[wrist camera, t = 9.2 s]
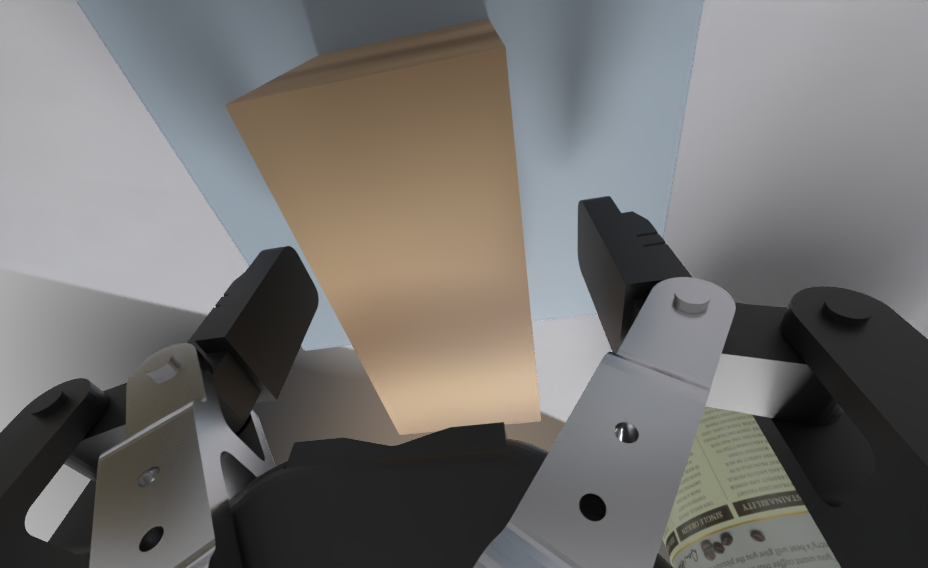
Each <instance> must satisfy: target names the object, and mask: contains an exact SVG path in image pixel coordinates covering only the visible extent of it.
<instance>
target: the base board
mask: <svg viewBox="0 0 928 568" xmlns="http://www.w3.org/2000/svg"><path fill="white" fill-rule="evenodd" d="M703 1H704V0H76V2H77V3H78V5H79V6H80V8H81V9H82V11H83V12H84V14H85V15H86V17H87V18H88V20H89V21H90V23H91V25H92V26H93V28H94V29H95V31H96V32H97V34H98V35H99V37H100V38H101V40H102V41H103V43H104V44H105V46H106V48H107V49H108V51H109V52H110V54H111V55H112V57H113V58H114V60H115V61H116V63H117V64H118V66H119V67H120V69H121V70H122V72H123V74H124V75H125V77H126V78H127V80H128V81H129V83H130V84H131V86H132V87H133V89H134V90H135V92H136V93H137V95H138V97H139V98H140V100H141V101H142V103H143V104H144V106H145V107H146V109H147V110H148V112H149V113H150V115H151V116H152V118H153V119H154V121H155V123H156V124H157V126H158V127H159V129H160V130H161V132H162V133H163V135H164V136H165V138H166V139H167V141H168V142H169V144H170V146H171V147H172V149H173V150H174V152H175V153H176V155H177V156H178V158H179V159H180V161H181V162H182V164H183V165H184V167H185V169H186V170H187V172H188V173H189V175H190V176H191V178H192V179H193V181H194V182H195V184H196V185H197V187H198V188H199V190H200V191H201V193H202V195H203V196H204V198H205V199H206V201H207V202H208V204H209V205H210V207H211V208H212V210H213V211H214V213H215V214H216V216H217V218H218V219H219V221H220V222H221V224H222V225H223V227H224V228H225V230H226V231H227V233H228V234H229V236H230V237H231V239H232V241H233V242H234V244H235V245H236V247H237V248H238V250H239V251H240V253H241V254H242V256H243V257H244V259H245V260H246V262H247V263H248V265H249V266H250V265H251V264H252V262H253V261H254V260H255V258H256V257H257V256H258V254H259V253H260V252H261V251H262V250H266V249H272V248H278V247H285V246H291V247H292V248H294V249H295V250H296V252H297V253H298V255H299V257H300V259H301V261H302V262H303V264H304V266H305V268H306V270H307V272H308V274H309V275H310V277H311V279H312V281H313V283H314V285H315V287H316V289H317V292H318V297H319V303H318V308H317V310H316V313H315V315H314V317H313V319H312V322H311V324H310V326H309V328H308V331H307V333H306V335H305V337H304V340H303V342H302V344H301V346H302V348H303V349H304V351H307V350H315V349H322V348H331V347H339V346H347V345H352V344H351V342H350V340H349V339H348V337H347V335H346V333H345V331H344V329H343V327H342V325H341V323H340V322H339V320H338V318H337V316H336V314H335V312H334V310H333V308H332V306H331V305H330V303H329V301H328V299H327V297H326V295H325V293H324V291H323V289H322V288H321V286H320V284H319V282H318V280H317V278H316V276H315V274H314V272H313V271H312V269H311V267H310V265H309V263H308V261H307V259H306V257H305V256H304V254H303V252H302V250H301V248H300V246H299V244H298V242H297V240H296V239H295V237H294V235H293V233H292V231H291V229H290V227H289V225H288V223H287V222H286V220H285V218H284V216H283V214H282V212H281V210H280V208H279V206H278V205H277V203H276V201H275V199H274V197H273V195H272V193H271V191H270V189H269V188H268V186H267V184H266V182H265V180H264V178H263V176H262V174H261V172H260V171H259V169H258V167H257V165H256V163H255V161H254V159H253V157H252V156H251V154H250V152H249V150H248V148H247V146H246V144H245V142H244V140H243V139H242V137H241V135H240V133H239V131H238V129H237V127H236V125H235V123H234V122H233V120H232V118H231V116H230V114H229V112H228V110H227V108H226V106H225V105H226V104H228V103H230V102H232V101H233V100H235V99H237V98H239V97H241V96H243V95H245V94H247V93H248V92H250V91H252V90H254V89H256V88H258V87H260V86H261V85H263V84H265V83H267V82H269V81H271V80H273V79H275V78H276V77H278V76H280V75H282V74H284V73H286V72H288V71H290V70H291V69H293V68H295V67H297V66H299V65H301V64H303V63H305V62H306V61H308V60H310V59H312V58H314V57H316V56H318V55H322V54H327V53H331V52H336V51H340V50H345V49H350V48H354V47H359V46H364V45H368V44H373V43H378V42H382V41H387V40H392V39H396V38H401V37H406V36H410V35H415V34H420V33H424V32H429V31H434V30H438V29H443V28H447V27H452V26H457V25H461V24H466V23H471V22H475V21H480V20H485V19H489V20H490V22H491V24H492V25H493V27H494V29H495V30H496V32H497V34H498V35H499V37H500V39H501V40H502V42H503V44H504V45H505V47H506V56H507V67H508V77H509V88H510V99H511V109H512V120H513V130H514V141H515V151H516V162H517V173H518V183H519V194H520V204H521V215H522V225H523V236H524V246H525V257H526V268H527V278H528V289H529V299H530V310H531V320H532V322H537V321H545V320H553V319H561V318H569V317H577V316H585V315H593V314H598V313H597V311H596V308H595V306H594V303H593V301H592V298H591V296H590V293H589V291H588V288H587V286H586V283H585V281H584V278H583V276H582V273H581V270H580V266H579V261H578V203H579V201H580V200H585V199H592V198H598V197H604V196H610V197H611V198H612V200H613V201H614V203H615V204H616V206H617V207H618V209H619V210H620V212H621V213H625V212H631V211H633V212H635V213H637V214H638V215H640V216H642V217H644V218H646V219H648V220H649V221H650V223H651V224H652V225H653V226H654V228H655V229H656V230H657V232H658V234H660V236H661V237H662V238H663V236H664V230H665V224H666V218H667V212H668V206H669V200H670V195H671V189H672V183H673V177H674V171H675V165H676V159H677V154H678V148H679V142H680V136H681V130H682V124H683V118H684V113H685V107H686V101H687V95H688V89H689V83H690V77H691V72H692V66H693V60H694V54H695V48H696V42H697V36H698V31H699V25H700V19H701V13H702V7H703Z"/></svg>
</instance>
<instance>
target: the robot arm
mask: <svg viewBox="0 0 928 568" xmlns="http://www.w3.org/2000/svg"><path fill="white" fill-rule="evenodd" d="M578 261H579V266H580V270H581V273H582V276H583V278H584V281H585V283H586V286H587V288H588V291H589V293H590V296H591V298H592V301H593V303H594V306H595V308H596V311H597V313H598V316H599V319H600V321H601V324H602V326H603V329H604V331H605V334H606V336H607V339H608V341H609V344H610V346H611V349H612V351H613V352H608V353H607V354H606V355H605V356H604V358H603V359H602V361H601V362H600V364H599V366H598V368H597V369H596V371H595V373H594V375H593V376H592V378H591V380H590V381H589V383H588V385H587V387H586V388H585V390H584V392H583V394H582V395H581V397H580V399H579V401H578V402H577V404H576V406H575V408H574V409H573V411H572V413H571V415H570V416H569V418H568V420H567V422H566V423H565V425H564V427H563V429H562V430H561V432H560V434H559V436H558V437H557V439H556V441H555V443H554V444H553V446H552V448H551V450H550V451H549V452H547V451H545V450H543V449H541V448H539V447H536V446H534V445H532V444H528V443H525V442H522V441H518V440H513V439H507V435H506V430H505V425H504V422H499V423H489V424H479V425H468V426H458V427H449V428H447V429H444V430H441V431H438V432H435V433H432V434H429V435H426V436H423V437H421V438H418V439H415V440H412V441H409V442H406V443H403V444H400V445H397V446H386V445H381V444H375V443H370V442H364V441H359V440H353V439H348V438H336V439H326V440H316V441H306V442H296V443H294V445H293V448H292V451H291V453H290V457H289V459H288V461H287V462H285V463H283V464H280V465H278V466H276V467H275V464H274V461H273V458H272V455H271V453H270V450H269V447H268V444H267V441H266V438H265V435H264V432H263V429H262V427H261V424H260V421H259V418H258V416H257V415H256V414H255V412H254V411H253V410H252V409H253V407H254V405H255V403H256V402H264V401H273V400H277V398H278V396H279V394H280V391H281V389H282V387H283V385H284V383H285V380H286V378H287V375H288V374H289V371H290V369H291V367H292V365H293V362H294V360H295V357H296V355H297V353H298V351H299V349H300V346H301V344H302V342H303V340H304V337H305V335H306V333H307V331H308V328H309V326H310V324H311V322H312V319H313V317H314V315H315V313H316V310H317V308H318V303H319V297H318V292H317V289H316V287H315V285H314V283H313V281H312V279H311V277H310V275H309V274H308V272H307V270H306V268H305V266H304V264H303V262H302V261H301V259H300V257H299V255H298V253H297V252H296V250H295V249H294V248H292V247H291V246H285V247H278V248H272V249H266V250H262V251H261V252H260V253H259V254H258V256H257V257H256V258H255V260H254V261H253V262H252V264H251V265H250V266H249V268H248V269H247V270H246V272H245V273H243V274H242V275H241V276H240V277H239V278H237V279H236V280H235V281H234V282H233V283H232V284H231V285H230V287H229V288H228V289H227V291H226V292H225V293H224V297H221V299H220V300H219V301H218V303H217V304H216V308H213V309H212V311H211V312H210V313H209V314H208V316H207V317H206V318H205V320H204V321H203V323H202V324H201V325H200V326H199V328H198V329H197V330H196V332H195V333H194V334H193V336H192V337H191V338H190V340H189V341H188V342H187V343H180V344H175V345H172V346H169V347H167V348H164V349H162V350H160V351H158V352H157V353H155V354H153V355H152V356H150V357H149V358H147V359H146V360H145V361H144V362H142V363H141V364H140V365H139V366H138V367H137V368H136V369H135V370H134V371H133V373H132V374H131V376H130V377H129V379H128V382H127V383H125V384H122V385H120V386H117V387H114V388H111V389H109V390H106V391H101V390H100V389H99V388H98V387H96V386H95V385H94V384H93V383H91V382H90V381H89V380H87V379H82V378H80V379H74V380H70V381H67V382H64V383H62V384H60V385H57V386H55V387H53V388H52V389H50V390H48V391H46V392H45V393H43V394H42V395H40V396H39V397H37V398H36V399H35V400H33V401H32V402H31V403H30V404H29V405H27V406H26V407H25V408H24V409H23V410H22V411H21V412H20V413H19V414H18V415H17V416H16V417H15V418H14V419H13V420H12V421H11V422H10V423H9V425H8V426H7V427H6V428H5V429H4V430H3V431H2V432H1V433H0V568H673V567H672V566H671V565H670V564H669V563H668V562H667V561H666V560H665V559H664V558H663V557H662V556H661V555H659V553H658V551H659V547H660V544H661V541H662V538H663V535H664V532H665V529H666V526H667V523H668V520H669V517H670V514H671V510H672V507H673V504H674V501H675V498H676V495H677V492H678V489H679V486H680V483H681V480H682V477H683V474H684V470H685V467H686V464H687V461H688V458H689V455H690V452H691V449H692V446H693V443H694V440H695V437H696V433H697V430H698V427H699V424H700V421H701V418H702V415H703V412H704V409H705V406H706V407H712V408H718V409H723V410H729V411H735V412H741V413H746V414H752V415H753V417H754V419H755V420H756V422H757V424H758V426H759V427H760V429H761V431H762V432H763V434H764V436H765V438H766V439H767V441H768V443H769V445H770V446H771V448H772V450H773V451H774V453H775V455H776V457H777V458H778V460H779V462H780V463H781V465H782V467H783V469H784V470H785V472H786V474H787V475H788V477H789V479H790V481H791V482H792V484H793V486H794V487H795V489H796V491H797V493H798V494H799V496H800V498H801V500H802V501H803V503H804V505H805V506H806V508H807V510H808V512H809V513H810V515H811V517H812V518H813V520H814V522H815V524H816V525H817V527H818V529H819V530H820V532H821V534H822V536H823V537H824V539H825V541H826V542H827V544H828V546H829V548H830V549H831V551H832V553H833V554H834V556H835V558H836V560H837V561H838V563H839V565H840V567H841V568H928V339H926V338H925V337H924V336H923V335H922V334H921V333H919V332H918V331H917V330H916V329H915V328H914V327H912V326H911V325H910V324H909V323H908V322H906V321H905V320H904V319H903V318H902V317H901V316H899V315H898V314H897V313H896V312H895V311H894V310H892V309H891V308H890V307H888V306H887V305H885V304H884V303H882V302H880V301H878V300H876V299H874V298H872V297H870V296H867V295H865V294H862V293H859V292H856V291H852V290H848V289H843V288H836V287H813V288H808V289H804V290H802V291H800V292H798V293H797V294H795V295H794V297H793V298H792V300H791V302H790V304H789V306H788V308H782V307H770V306H759V305H748V304H740V303H735V302H734V300H733V298H732V297H731V295H730V294H729V293H728V292H727V291H726V290H724V289H723V288H721V287H720V286H718V285H716V284H714V283H711V282H709V281H706V280H702V279H698V278H692V276H691V275H690V274H689V272H688V271H687V270H686V269H685V267H684V266H683V265H682V263H681V262H680V261H679V259H678V258H677V257H676V255H675V254H674V253H673V251H672V250H671V249H670V247H669V246H668V245H667V244H665V241H664V240H663V238H662V237H661V236H660V234H658V232H657V230H656V229H655V228H654V226H653V225H652V224H651V223H650V221H649V220H648V219H646V218H644V217H642V216H640V215H638V214H637V213H635V212H633V211H631V212H625V213H621V212H620V210H619V209H618V207H617V206H616V204H615V203H614V201H613V200H612V198H611V197H610V196H604V197H598V198H592V199H585V200H580V201H579V203H578ZM63 464H65V465H67V466H69V467H71V468H72V469H74V470H76V471H77V472H79V473H81V474H82V475H84V476H86V477H88V478H89V479H91V481H90V482H89V484H88V485H87V486H86V488H85V489H84V491H83V492H82V494H81V495H80V497H79V498H78V500H77V501H76V502H75V504H74V505H73V507H72V508H71V510H70V511H69V513H68V514H67V515H66V517H65V518H64V520H63V521H62V522H61V524H60V525H59V527H58V528H57V530H56V531H55V533H54V534H53V535H52V537H51V538H50V540H49V541H48V542H45V541H43V540H40V539H38V538H35V537H33V536H31V535H30V534H29V533H28V532H27V531H26V529H25V517H26V514H27V512H28V510H29V508H30V507H31V505H32V504H33V502H34V501H35V500H36V499H37V497H38V496H39V495H40V493H41V492H42V491H43V490H44V488H45V487H46V486H47V485H48V483H49V482H50V481H51V479H52V478H53V477H54V475H55V474H56V473H57V472H58V470H59V469H60V468H61V466H62V465H63Z"/></svg>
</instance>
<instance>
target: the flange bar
mask: <svg viewBox="0 0 928 568" xmlns="http://www.w3.org/2000/svg"><path fill="white" fill-rule="evenodd" d="M225 106H226V108H227V110H228V112H229V114H230V116H231V118H232V120H233V122H234V123H235V125H236V127H237V129H238V131H239V133H240V135H241V137H242V139H243V140H244V142H245V144H246V146H247V148H248V150H249V152H250V154H251V156H252V157H253V159H254V161H255V163H256V165H257V167H258V169H259V171H260V172H261V174H262V176H263V178H264V180H265V182H266V184H267V186H268V188H269V189H270V191H271V193H272V195H273V197H274V199H275V201H276V203H277V205H278V206H279V208H280V210H281V212H282V214H283V216H284V218H285V220H286V222H287V223H288V225H289V227H290V229H291V231H292V233H293V235H294V237H295V239H296V240H297V242H298V244H299V246H300V248H301V250H302V252H303V254H304V256H305V257H306V259H307V261H308V263H309V265H310V267H311V269H312V271H313V272H314V274H315V276H316V278H317V280H318V282H319V284H320V286H321V288H322V289H323V291H324V293H325V295H326V297H327V299H328V301H329V303H330V305H331V306H332V308H333V310H334V312H335V314H336V316H337V318H338V320H339V322H340V323H341V325H342V327H343V329H344V331H345V333H346V335H347V337H348V339H349V340H350V342H351V344H352V346H353V348H354V350H355V352H356V354H357V355H358V357H359V359H360V361H361V363H362V365H363V367H364V369H365V371H366V372H367V374H368V376H369V378H370V380H371V382H372V384H373V386H374V388H375V389H376V391H377V393H378V395H379V397H380V399H381V401H382V403H383V404H384V406H385V408H386V410H387V412H388V414H389V416H390V418H391V420H392V422H393V423H394V425H395V427H396V429H397V431H398V433H399V434H400V435H403V434H414V433H424V432H434V431H441V430H444V429H447V428H449V427H458V426H468V425H479V424H489V423H499V422H504V425H506V424H516V423H526V422H537V421H541V416H540V405H539V394H538V384H537V373H536V363H535V352H534V341H533V331H532V320H531V310H530V299H529V289H528V278H527V268H526V257H525V246H524V236H523V225H522V215H521V204H520V194H519V183H518V173H517V162H516V151H515V141H514V130H513V120H512V109H511V99H510V88H509V77H508V67H507V56H506V47H505V45H504V44H503V42H502V40H501V39H500V37H499V35H498V34H497V32H496V30H495V29H494V27H493V25H492V24H491V22H490V20H489V19H485V20H480V21H475V22H471V23H466V24H461V25H457V26H452V27H447V28H443V29H438V30H434V31H429V32H424V33H420V34H415V35H410V36H406V37H401V38H396V39H392V40H387V41H382V42H378V43H373V44H368V45H364V46H359V47H354V48H350V49H345V50H340V51H336V52H331V53H327V54H322V55H318V56H316V57H314V58H312V59H310V60H308V61H306V62H305V63H303V64H301V65H299V66H297V67H295V68H293V69H291V70H290V71H288V72H286V73H284V74H282V75H280V76H278V77H276V78H275V79H273V80H271V81H269V82H267V83H265V84H263V85H261V86H260V87H258V88H256V89H254V90H252V91H250V92H248V93H247V94H245V95H243V96H241V97H239V98H237V99H235V100H233V101H232V102H230V103H228V104H226V105H225Z"/></svg>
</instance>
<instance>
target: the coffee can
mask: <svg viewBox="0 0 928 568" xmlns="http://www.w3.org/2000/svg"><path fill="white" fill-rule="evenodd" d="M663 541H664V543H665V546H666V549H667V552H668V555H669V558H670V561H671V564H672V566H673V568H841V567H840V565H839V563H838V561H837V560H836V558H835V556H834V554H833V553H832V551H831V549H830V548H829V546H828V544H827V542H826V541H825V539H824V537H823V536H822V534H821V532H820V530H819V529H818V527H817V525H816V524H815V522H814V520H813V518H812V517H811V515H810V513H809V512H808V510H807V508H806V506H805V505H804V503H803V501H802V500H801V498H800V496H799V494H798V493H797V491H796V489H795V487H794V486H793V484H792V482H791V481H790V479H789V477H788V475H787V474H786V472H785V470H784V469H783V467H782V465H781V463H780V462H779V460H778V458H777V457H776V455H775V453H774V451H773V450H772V448H771V446H770V445H769V443H768V441H767V439H766V438H765V436H764V434H763V432H762V431H761V429H760V427H759V426H758V424H757V422H756V420H755V419H754V417H753V415H752V414H746V413H741V412H735V411H729V410H723V409H718V408H712V407H706V406H705V409H704V412H703V415H702V418H701V421H700V424H699V427H698V430H697V433H696V437H695V440H694V443H693V446H692V449H691V452H690V455H689V458H688V461H687V464H686V467H685V470H684V474H683V477H682V480H681V483H680V486H679V489H678V492H677V495H676V498H675V501H674V504H673V507H672V510H671V514H670V517H669V520H668V523H667V526H666V529H665V532H664V535H663Z"/></svg>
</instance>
